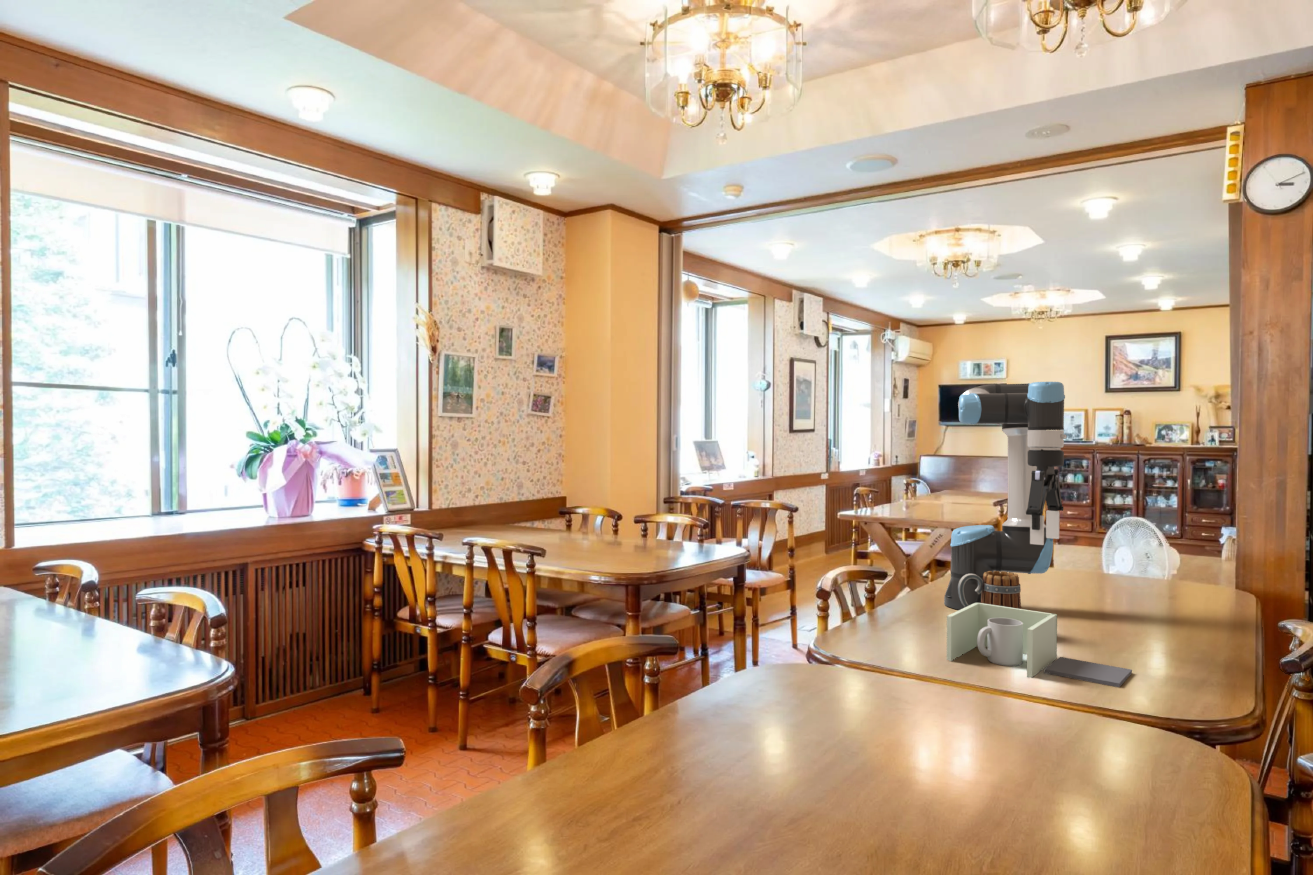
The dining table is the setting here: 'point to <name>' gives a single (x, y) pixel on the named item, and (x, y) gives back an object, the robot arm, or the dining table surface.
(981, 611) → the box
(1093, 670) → the mat
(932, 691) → the dining table surface
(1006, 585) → the mug
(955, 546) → the robot arm
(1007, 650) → the cup
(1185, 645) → the dining table surface
